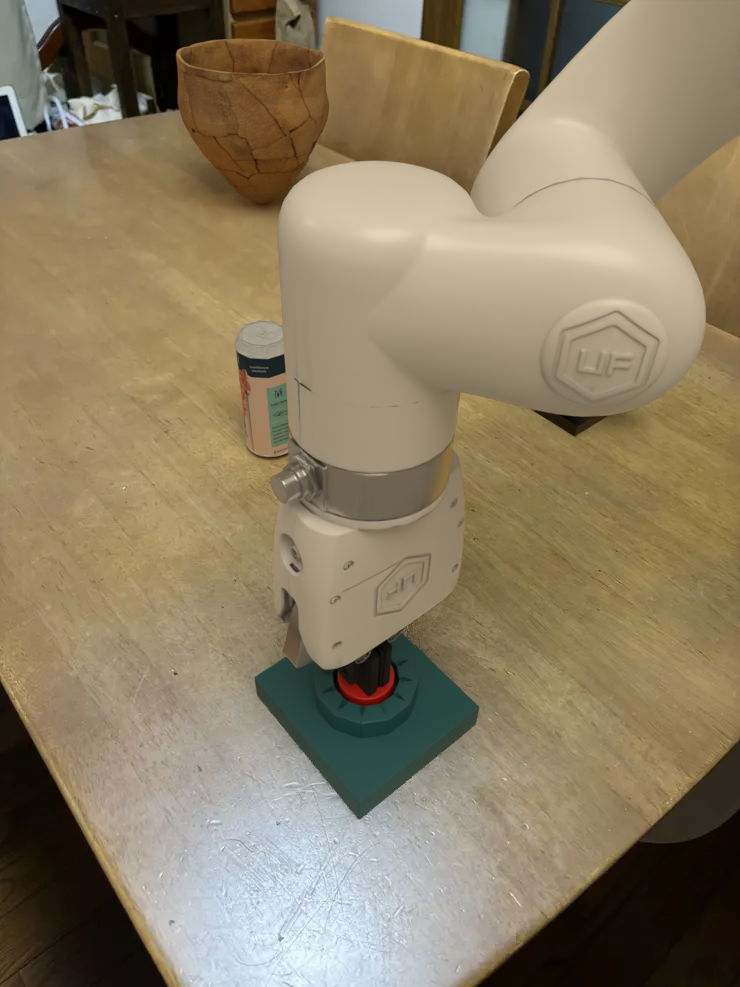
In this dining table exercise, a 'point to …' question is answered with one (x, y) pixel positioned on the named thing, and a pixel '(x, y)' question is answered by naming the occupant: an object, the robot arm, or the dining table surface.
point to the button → (359, 697)
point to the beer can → (263, 387)
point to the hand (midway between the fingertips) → (363, 674)
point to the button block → (369, 723)
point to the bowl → (253, 109)
